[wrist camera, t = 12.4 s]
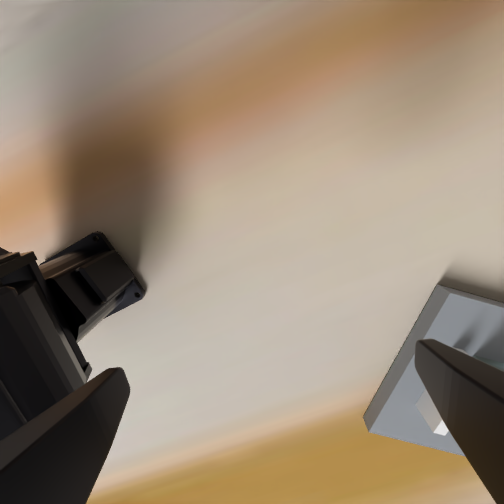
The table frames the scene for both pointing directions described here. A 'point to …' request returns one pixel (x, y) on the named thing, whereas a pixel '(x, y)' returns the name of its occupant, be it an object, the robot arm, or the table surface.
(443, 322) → the base plate
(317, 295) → the table surface
